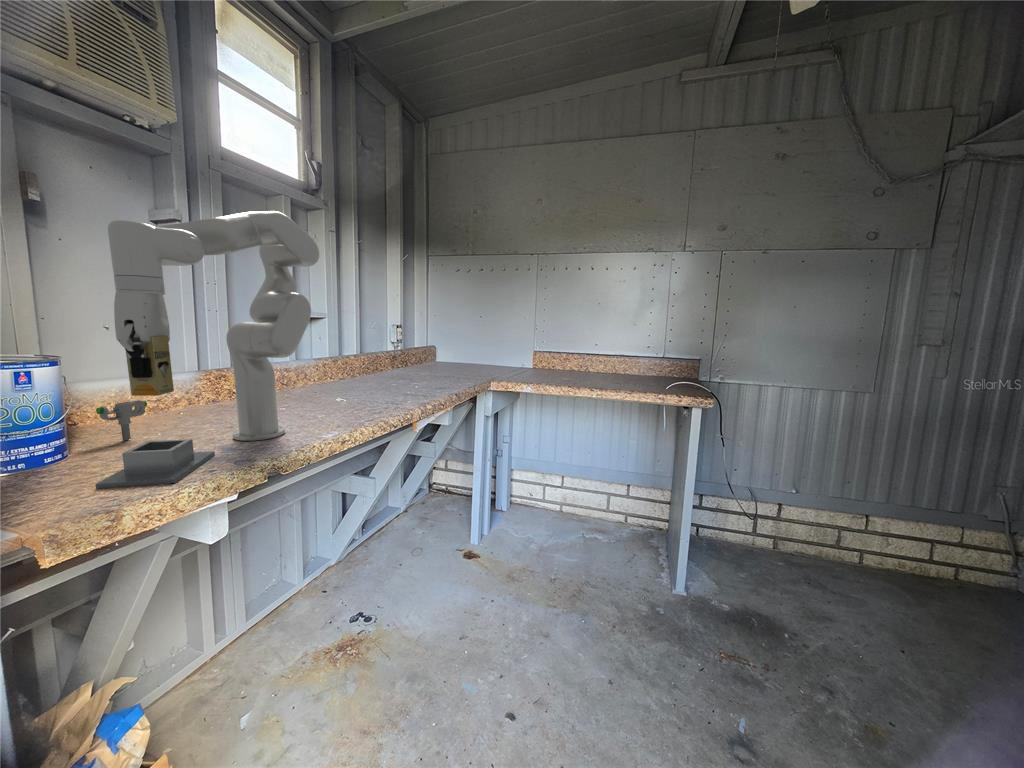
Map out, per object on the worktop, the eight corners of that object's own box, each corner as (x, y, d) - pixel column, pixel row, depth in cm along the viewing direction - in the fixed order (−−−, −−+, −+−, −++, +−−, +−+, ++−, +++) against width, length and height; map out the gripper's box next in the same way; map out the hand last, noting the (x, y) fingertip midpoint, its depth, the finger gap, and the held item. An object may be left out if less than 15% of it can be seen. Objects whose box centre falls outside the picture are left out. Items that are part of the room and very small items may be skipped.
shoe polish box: (173, 391, 91) (167, 335, 89) (158, 395, 86) (151, 336, 84) (148, 391, 90) (141, 335, 88) (131, 395, 85) (123, 336, 83)
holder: (151, 458, 97) (148, 435, 97) (214, 455, 100) (212, 433, 100) (96, 489, 80) (92, 461, 79) (174, 483, 83) (171, 457, 82)
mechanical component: (99, 444, 107) (94, 406, 105) (145, 434, 116) (141, 399, 115) (106, 446, 106) (101, 407, 104) (152, 435, 115) (148, 400, 114)
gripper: (144, 288, 92) (153, 370, 94) (86, 282, 75) (100, 382, 78) (183, 289, 93) (192, 370, 96) (136, 284, 77) (147, 381, 80)
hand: (151, 374), depth 87 cm, fingers closed on shoe polish box, 5 cm apart
